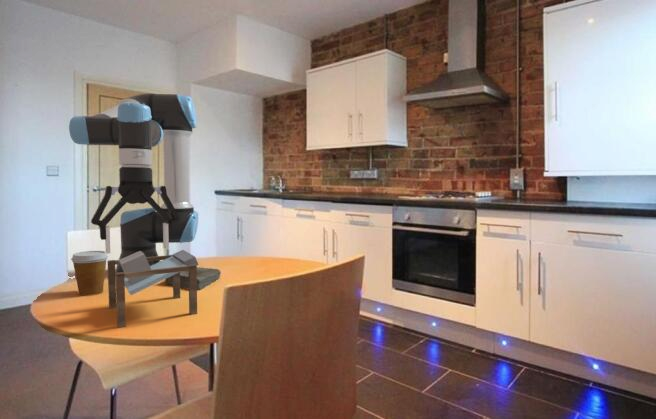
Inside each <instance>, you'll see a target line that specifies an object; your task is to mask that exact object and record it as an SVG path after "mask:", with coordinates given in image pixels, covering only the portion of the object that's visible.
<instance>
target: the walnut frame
mask: <svg viewBox="0 0 656 419" xmlns="http://www.w3.org/2000/svg"><path fill="white" fill-rule="evenodd" d="M173 254H174V253H173ZM173 254H168V255H158V256H155V257H146V259H147V261H158V260H160V261H163V260H165V259H167V258H169V257H171V256H173ZM118 264H120V263H119V259H112V260H107V280H108V281H107V283H108V284H107V286H108V287H107V288H108V291H107V292H108V307H109V309H114V308H116V325H117V328H119V329H120V328H124V327H127V321H126V320H127V319H126V287H125V280H124V278H130V277H138V276H147V275H155V274H163V273H172V272H179V273H177V274H175V275H173V286H172V288H173V289H172V292H173V293H172V296H173V298H174V299H179V298H181V287H180V271H189V289H188V311H189V312H188V313H189V314H190V315H191V316H192V315H197V314H198V290H197V266H198V265H195V264H192V265H188V266H180V267H171V268H162V269H154V270H145V271H136V272H127V273H124V272H119V273H116V266H117V265H118Z"/></svg>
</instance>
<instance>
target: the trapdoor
mask: <svg viewBox="0 0 656 419" xmlns="http://www.w3.org/2000/svg"><path fill="white" fill-rule="evenodd" d="M192 264H195V265H197V266H199V263H198V259H197V257H196V255H195V256H194V255H193V254H192V253H190V252H188V251H186V250H184V249H182V250H179V251H177V252H174V253H173V256H171V257H169V258H167V259H165V260H160V262H158V263H156V264H154V265H152V266H150V268H151V270H154V269H162V268H171V267H180V266H188V265H192ZM180 272H181V271H180ZM177 273H179V272H172V273H163V274H155V275H153V276H151V277H149V278H147V279H145V280H142V281H140V282H138V283H136V284H134V285H132V286H131V284H130V283H129V281H128V280H127V278H124V280H125V290H127V292H128V293H129V295H130V296H132V295H134V294H137V293H139V292H141V291H143V290H145V289H148V288H149V287H152V286H154V285H156V284H158V283H160V282H163V281H164V280H165V279H166V278H168V277H171V276H173V275H175V274H177Z"/></svg>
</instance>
